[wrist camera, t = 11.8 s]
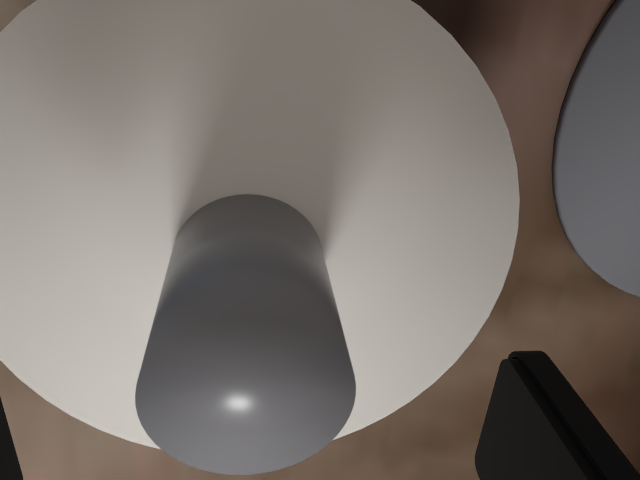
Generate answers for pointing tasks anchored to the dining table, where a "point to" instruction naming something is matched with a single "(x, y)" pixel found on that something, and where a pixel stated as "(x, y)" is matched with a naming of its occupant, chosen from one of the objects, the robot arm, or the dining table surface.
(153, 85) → the lid
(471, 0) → the dining table surface
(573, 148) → the mat
